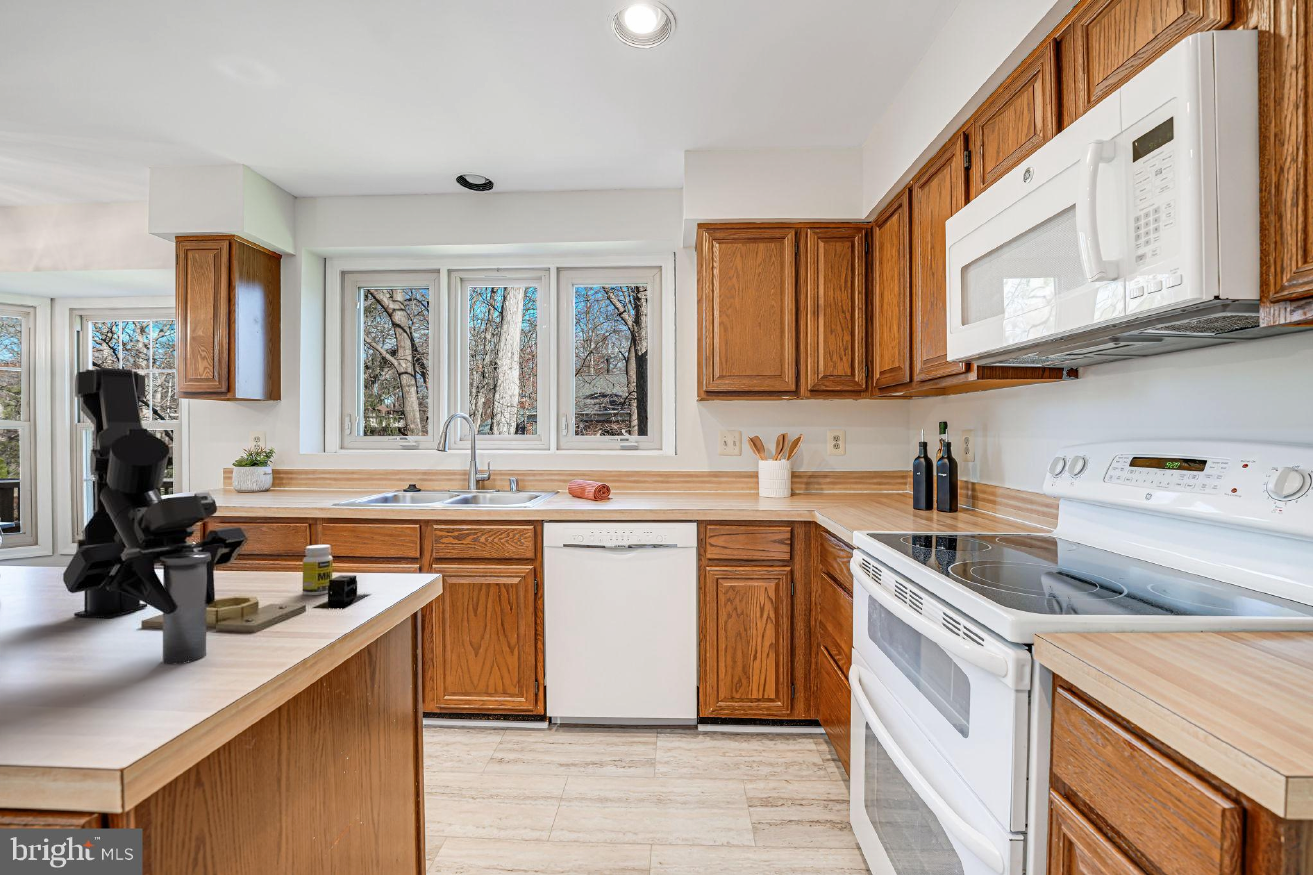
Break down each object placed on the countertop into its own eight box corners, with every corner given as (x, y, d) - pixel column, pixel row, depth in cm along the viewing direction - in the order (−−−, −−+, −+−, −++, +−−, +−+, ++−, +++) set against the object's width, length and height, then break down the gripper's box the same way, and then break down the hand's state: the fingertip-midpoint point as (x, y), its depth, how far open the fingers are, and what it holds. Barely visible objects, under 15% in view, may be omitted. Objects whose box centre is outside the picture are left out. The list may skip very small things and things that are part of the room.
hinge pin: (147, 664, 76) (148, 559, 76) (183, 649, 81) (184, 551, 81) (185, 666, 76) (186, 560, 76) (220, 651, 81) (220, 552, 81)
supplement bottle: (319, 596, 109) (319, 549, 109) (296, 595, 110) (296, 547, 110) (338, 590, 114) (338, 544, 114) (316, 588, 115) (316, 543, 115)
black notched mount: (343, 614, 100) (343, 586, 100) (299, 614, 100) (299, 585, 100) (380, 595, 112) (380, 570, 112) (341, 594, 113) (341, 569, 113)
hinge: (141, 627, 91) (141, 610, 91) (204, 607, 102) (204, 592, 102) (254, 632, 89) (254, 614, 89) (305, 611, 100) (305, 595, 100)
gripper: (76, 477, 71) (131, 582, 67) (240, 470, 89) (292, 553, 84) (40, 540, 75) (90, 644, 70) (205, 522, 92) (253, 604, 87)
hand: (191, 607), depth 78 cm, fingers closed on hinge pin, 4 cm apart
